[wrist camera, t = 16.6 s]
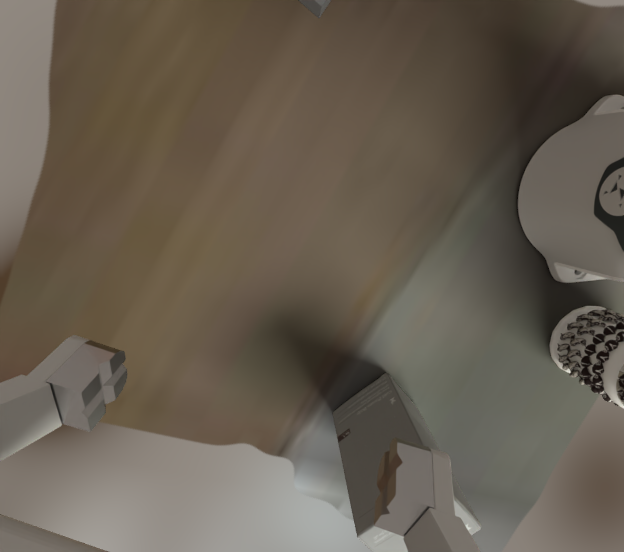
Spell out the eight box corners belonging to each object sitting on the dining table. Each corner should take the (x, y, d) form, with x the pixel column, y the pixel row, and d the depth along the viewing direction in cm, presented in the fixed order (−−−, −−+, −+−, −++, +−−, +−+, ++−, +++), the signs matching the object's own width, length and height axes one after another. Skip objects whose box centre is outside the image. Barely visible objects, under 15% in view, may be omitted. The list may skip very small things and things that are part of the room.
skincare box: (386, 369, 44) (441, 472, 29) (421, 411, 46) (490, 530, 30) (327, 413, 45) (350, 535, 30) (363, 453, 47) (403, 588, 31)
